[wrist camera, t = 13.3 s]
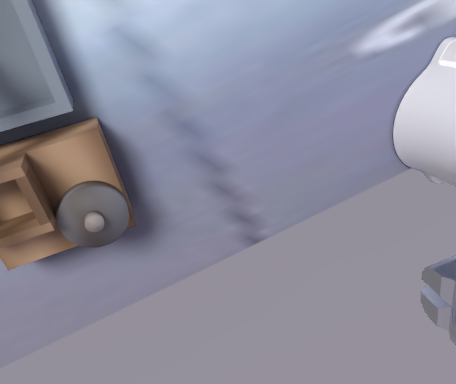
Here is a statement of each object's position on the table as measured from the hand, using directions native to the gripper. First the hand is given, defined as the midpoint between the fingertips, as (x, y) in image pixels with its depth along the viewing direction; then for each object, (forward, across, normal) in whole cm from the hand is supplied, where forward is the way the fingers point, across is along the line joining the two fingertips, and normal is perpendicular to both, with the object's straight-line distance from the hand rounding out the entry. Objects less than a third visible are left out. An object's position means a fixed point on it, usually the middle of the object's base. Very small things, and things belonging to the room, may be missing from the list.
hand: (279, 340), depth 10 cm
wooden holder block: (+31, +11, +7) cm, 34 cm away
